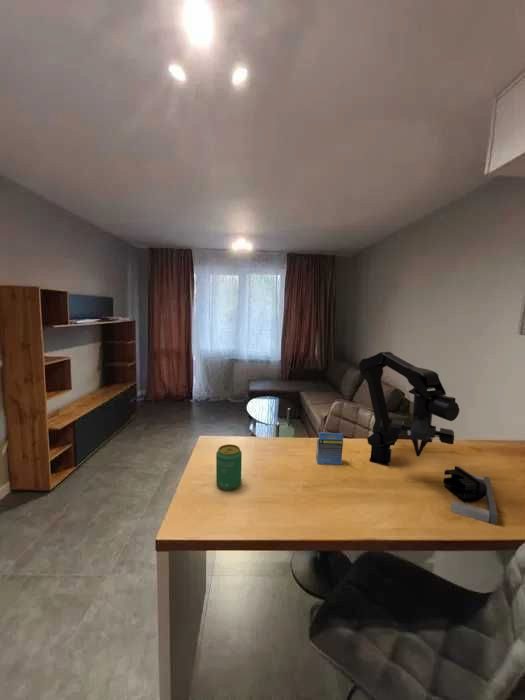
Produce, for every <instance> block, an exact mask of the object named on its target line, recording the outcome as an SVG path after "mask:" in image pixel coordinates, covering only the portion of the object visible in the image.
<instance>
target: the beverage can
mask: <svg viewBox="0 0 525 700" xmlns="http://www.w3.org/2000/svg"><path fill="white" fill-rule="evenodd" d="M242 453H243V452H242V450H241V449H240V447H239V445H236V444H224V445H221V446H219V447H218V449H217V451H216V454H215V455H216V456H215V457H216V458H215V463H216V469H215V470H216V471H215V472H216V475H215V477H216V478H215V479H216V480H215V481H216V482H215V483H216V485H217V487H218V488H219V489H220V490H222V491H223V490H224V491H234V490H236V489H238V488H239V487H240V485H241V483H242Z"/></svg>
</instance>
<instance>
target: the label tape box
mask: <svg viewBox="0 0 525 700" xmlns="http://www.w3.org/2000/svg"><path fill="white" fill-rule="evenodd" d="M318 434H319V435H318V438H317V439H316V450H315V451H316V452H315V453H316V454H315V459H316V463H317V465H342V458H343V449H344V448H343V447H344V433H337V432H336V433H335V432H334V433H333V432H318Z"/></svg>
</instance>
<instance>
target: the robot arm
mask: <svg viewBox="0 0 525 700" xmlns="http://www.w3.org/2000/svg"><path fill="white" fill-rule="evenodd" d="M386 367H388V368H389V369H391V370H393V371H394V372H396V373H398V374H399V375H401V376H402V377H404V378H405V379H407V382H408V384H409V385H410V386H412V387H413V388H412V389H410V390H408V393H409V394H412V395H414V396H413V402H412V403H413V404H412V412H411V413H412V415H411V421H410V425H409V424H404V423H405V422H404V421H405V420H401V419H394V418H393V419H391V418H390V416H389V412H388V411H389V410H388V407H387V403H386V399H385V392H384V389H383V384H382V378H383V374H384V368H386ZM358 368H359V371H360V376H362V378H363V379H364V380H365V381H366V383H367V387H368V392H369V396H370V400H371V406H372V412H373V416H374V423H373V426H372V434H371V435H370V436H368V437H367V439H366V440H367V444H368V445H369V446H371V450H370V458H369V460H368V461H369V462H373V463H375V464H380V465H384V466H388V465H389V463H390V462H391V460H392V452H393V451H392V449H391V446H395V444H396V443H397V442H398V439H399V434H400V433H402V431H406V432H407V435H406V437H407V438H408V439H410V440H411V442H412V444H413V448H414V451H415V455H416V457H421V454H422V453H423V450H424V448H425V447H426V445H427V444H428V443H433V439H436V437H437V438H438V440H439V441H440V443H443V444H447V445H454V441H455V432H454V430H453V429H448V428H443V427H440V428H439V430H437V426H436V425H432V422H433V421H432V420H433V415H434V416H436V417H438V418H441V419H444V420H446V421H448V422H453V421H455V420H456V419H457V418H458V416H459V413H460V406H459V404H458V403H457V402H456V397H453V396H447V392H446V390H445V388H444V386H443V384H442V381H441V380H440V377H439V373H437V371H434V370H430V369H428V368H424V367H423V368H422V367H418V366H416V365H414V364H412V363H410V362H407V361H406V360H404V359H402V358H400V357H398V356H396V355H395V354H394V353H392V352H391V351H383V352H382V351H381V352H378V353H376V354H375V355H372V356H369V357H367V358H362V359H361V360H360V361H359V363H358ZM419 441H420V444H419Z"/></svg>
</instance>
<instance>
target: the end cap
mask: <svg viewBox="0 0 525 700" xmlns="http://www.w3.org/2000/svg"><path fill="white" fill-rule="evenodd" d="M444 475H445V476H449V477H444V478H443V488H444V489H446V491H448V492H449V493H451V494H452V495H453V496H454V497H456V498H457V499H458V501H461V503H464V504H473V503H476V502H479V501H481V500H482V499H484V498H485V495H486V493H487V487H486V485H485V484H484V483H483V482H481V481H480V480H478V479H477V478H475V477H474V476H472V475H473V474H471V473H469V472H468V471H466V470H464V469H463V468H462V467H461V466H458V465H455V466H454V469H445V470H444ZM451 475H452V477H451Z"/></svg>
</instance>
